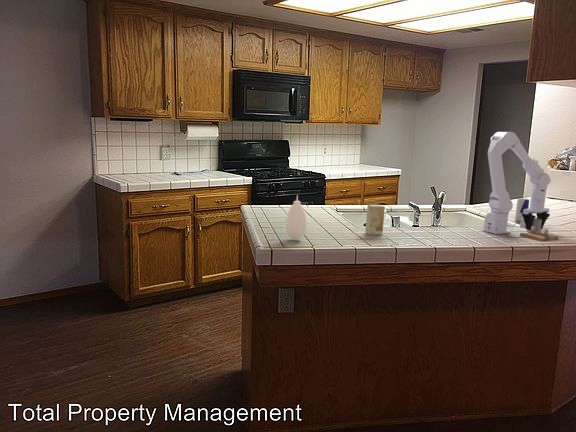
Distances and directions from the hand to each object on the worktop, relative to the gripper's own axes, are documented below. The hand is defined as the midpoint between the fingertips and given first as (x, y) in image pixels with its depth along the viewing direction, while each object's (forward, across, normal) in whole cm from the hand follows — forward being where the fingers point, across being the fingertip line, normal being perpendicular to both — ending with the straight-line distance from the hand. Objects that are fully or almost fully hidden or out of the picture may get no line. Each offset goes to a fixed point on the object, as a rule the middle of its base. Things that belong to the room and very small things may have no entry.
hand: (534, 229), depth 214 cm
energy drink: (+2, -14, -18) cm, 23 cm away
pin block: (+1, +8, +8) cm, 12 cm away
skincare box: (+2, +73, -20) cm, 76 cm away
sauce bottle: (+2, +110, -20) cm, 112 cm away
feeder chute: (+1, -9, -9) cm, 13 cm away
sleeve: (+1, 0, 0) cm, 1 cm away
